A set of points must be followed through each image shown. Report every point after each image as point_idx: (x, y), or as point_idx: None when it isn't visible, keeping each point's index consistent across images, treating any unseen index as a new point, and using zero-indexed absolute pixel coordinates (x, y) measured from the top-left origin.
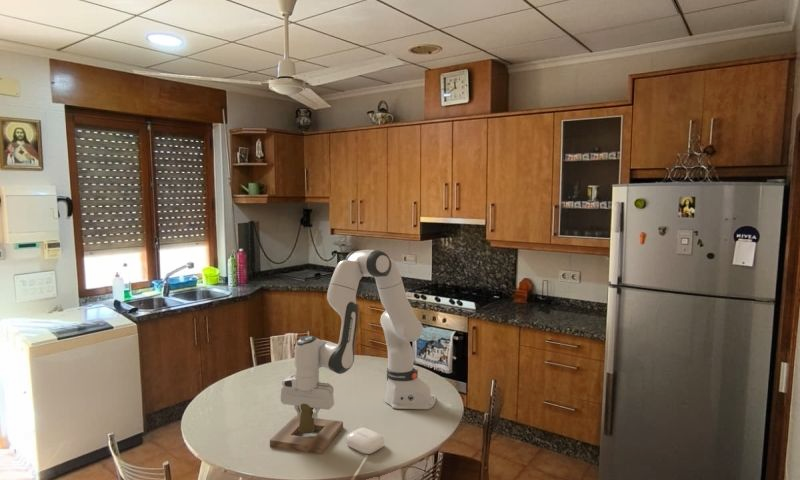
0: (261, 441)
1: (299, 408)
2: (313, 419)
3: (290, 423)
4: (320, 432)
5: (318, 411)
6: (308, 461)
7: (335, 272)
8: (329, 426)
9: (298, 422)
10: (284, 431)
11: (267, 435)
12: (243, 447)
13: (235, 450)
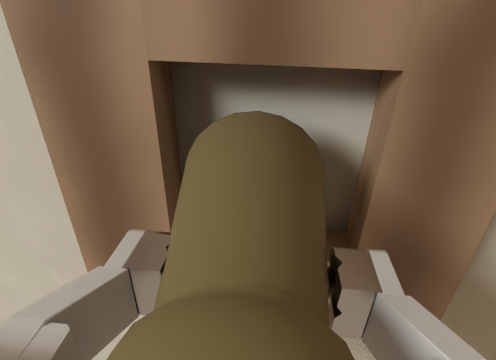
0: (40, 242)
1: (92, 306)
2: (325, 231)
3: (54, 91)
4: (384, 189)
5: (436, 331)
6: (360, 348)
7: None
8: (460, 66)
9: (107, 54)
10: (106, 216)
11: (13, 183)
12: (14, 292)
13: (7, 311)
